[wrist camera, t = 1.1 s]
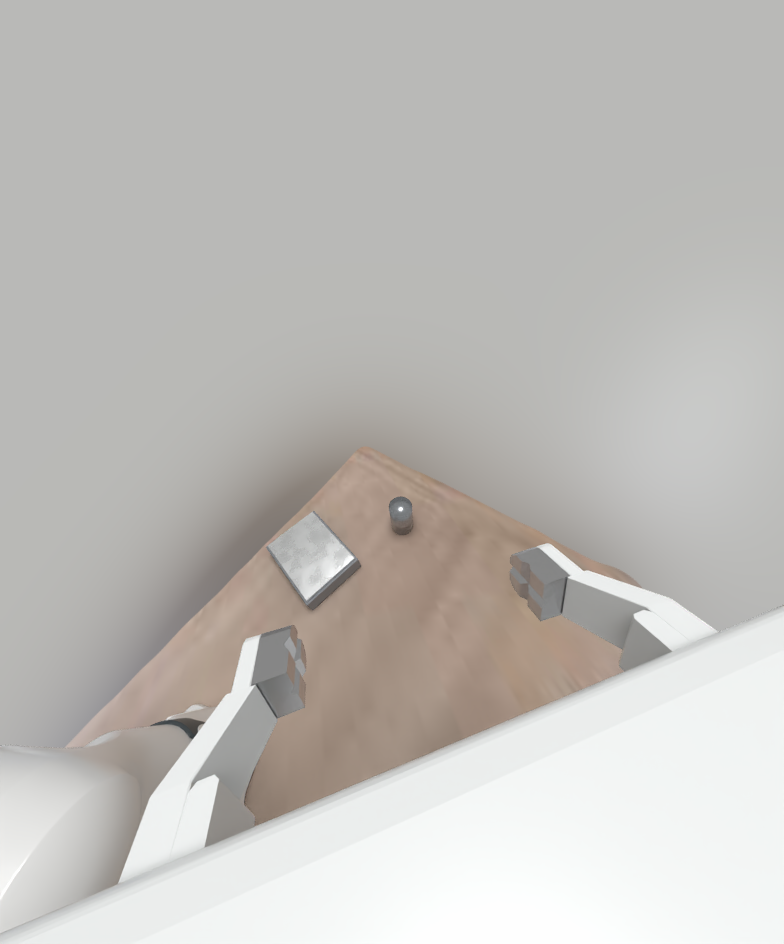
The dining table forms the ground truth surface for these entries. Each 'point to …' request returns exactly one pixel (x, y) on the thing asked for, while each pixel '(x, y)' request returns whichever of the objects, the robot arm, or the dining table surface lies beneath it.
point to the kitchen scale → (313, 559)
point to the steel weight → (401, 515)
